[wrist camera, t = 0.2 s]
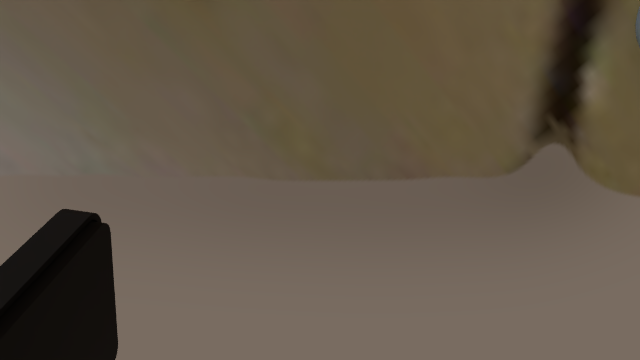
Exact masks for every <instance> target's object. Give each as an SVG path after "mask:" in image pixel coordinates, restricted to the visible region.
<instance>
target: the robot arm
mask: <svg viewBox="0 0 640 360" xmlns="http://www.w3.org/2000/svg"><path fill="white" fill-rule="evenodd" d="M117 349H118V337H117V323H116V307H115V292H114V278H113V262H112V247H111V232H110V227H109V225H108V224H106V223H101V219H100V217H99V215H98V214H96V213H90V212H83V211H76V210H69V209H62V210H60V211H59V212H58V213H57V214H55V216H54V217H52V218H51V219H50V220H49V221H48V222H47V223H46V224H45V225H44V226H43V227H42V228H41V229H40V230H38V232H36V233H35V234H34V235H33V236H32V237H31V238H30V239H29V240H28V241H27V242H26V243H25V244H24V245H22V246H21V247H20V248H19V249H18V250H17V251H16V252H15V253H14V254H13V255H12V256H11V257H10V258H9V259H7V260H6V261H5V262H4V263H3V264H2V265H1V266H0V360H115V358H116V355H117Z"/></svg>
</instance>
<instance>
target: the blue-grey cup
mask: <svg viewBox="0 0 640 360" xmlns="http://www.w3.org/2000/svg"><path fill="white" fill-rule="evenodd" d="M636 38H637V41H638V44H639V47H640V7H639V10H638V13H637V19H636Z"/></svg>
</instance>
